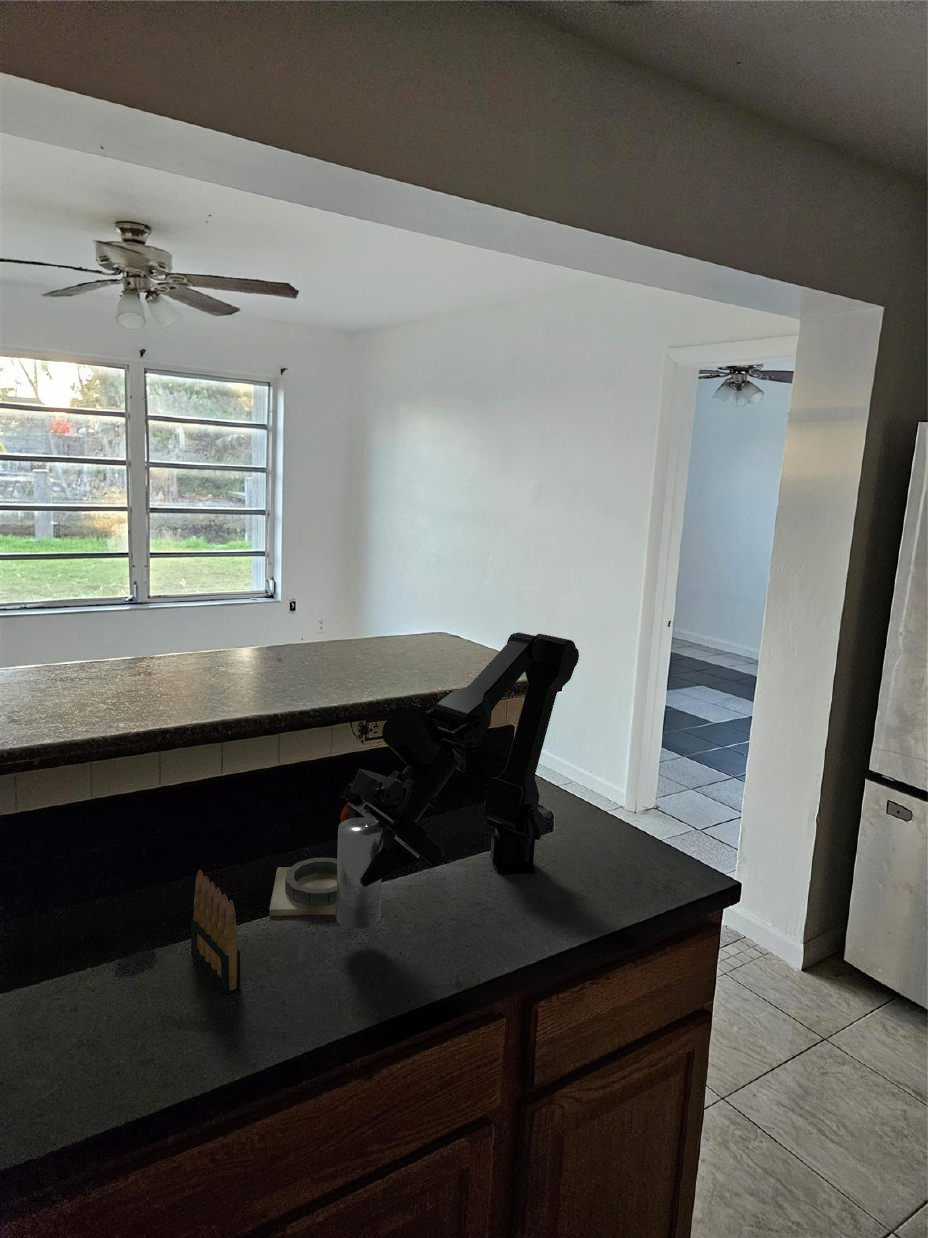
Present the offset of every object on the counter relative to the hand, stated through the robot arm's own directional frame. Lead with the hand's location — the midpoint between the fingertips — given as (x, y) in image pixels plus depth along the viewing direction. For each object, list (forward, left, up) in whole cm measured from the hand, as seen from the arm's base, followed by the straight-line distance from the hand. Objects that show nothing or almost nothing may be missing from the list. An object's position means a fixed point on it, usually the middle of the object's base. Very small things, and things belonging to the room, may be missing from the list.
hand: (350, 874), depth 105 cm
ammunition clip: (+17, +4, -11) cm, 20 cm away
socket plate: (+4, -14, -11) cm, 18 cm away
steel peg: (-1, -1, -7) cm, 7 cm away
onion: (-1, -32, -11) cm, 34 cm away
